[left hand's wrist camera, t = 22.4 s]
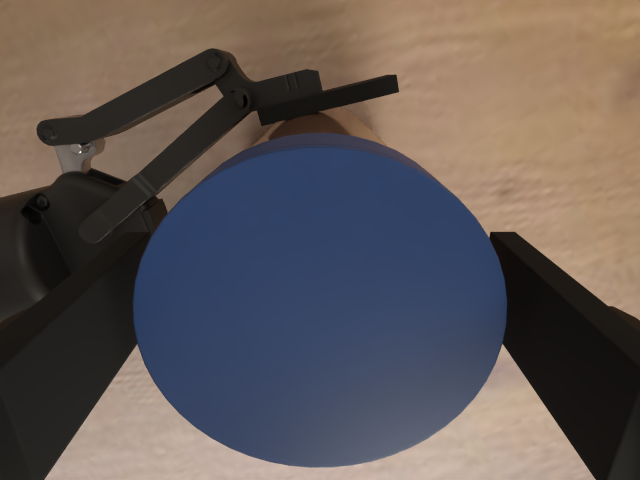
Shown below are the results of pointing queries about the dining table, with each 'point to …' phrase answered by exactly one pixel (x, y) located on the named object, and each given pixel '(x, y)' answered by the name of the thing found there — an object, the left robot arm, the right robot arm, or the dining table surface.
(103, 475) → the dining table surface
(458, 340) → the lid
